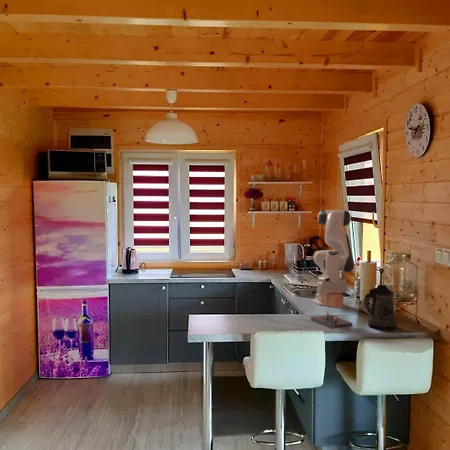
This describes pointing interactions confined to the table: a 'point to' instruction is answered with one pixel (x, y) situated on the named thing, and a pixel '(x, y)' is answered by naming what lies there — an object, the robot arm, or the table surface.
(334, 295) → the block
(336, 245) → the robot arm
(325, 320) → the base plate
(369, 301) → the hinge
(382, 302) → the beer stein
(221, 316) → the table surface
